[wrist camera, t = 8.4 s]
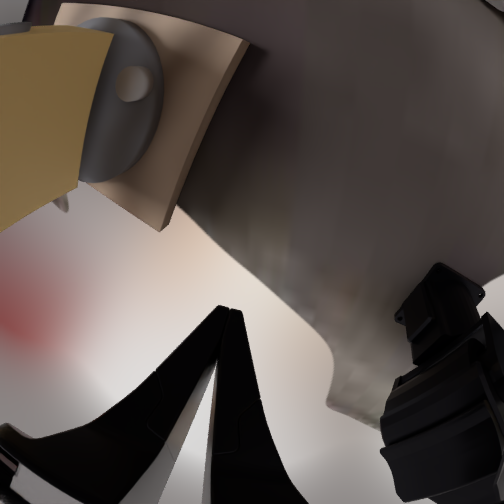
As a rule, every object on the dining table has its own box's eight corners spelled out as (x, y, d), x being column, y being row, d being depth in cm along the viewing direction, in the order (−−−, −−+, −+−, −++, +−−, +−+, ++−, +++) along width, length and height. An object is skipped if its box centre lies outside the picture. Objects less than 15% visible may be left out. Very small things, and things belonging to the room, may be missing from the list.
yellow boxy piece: (117, 26, 11) (-34, 35, 3) (76, 192, 19) (-24, 256, 11) (69, 19, 11) (-50, 34, 3) (40, 162, 19) (-49, 211, 11)
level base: (250, 43, 14) (226, 31, 11) (168, 224, 24) (142, 247, 20) (73, 3, 13) (42, 2, 10) (40, 138, 23) (13, 149, 20)
